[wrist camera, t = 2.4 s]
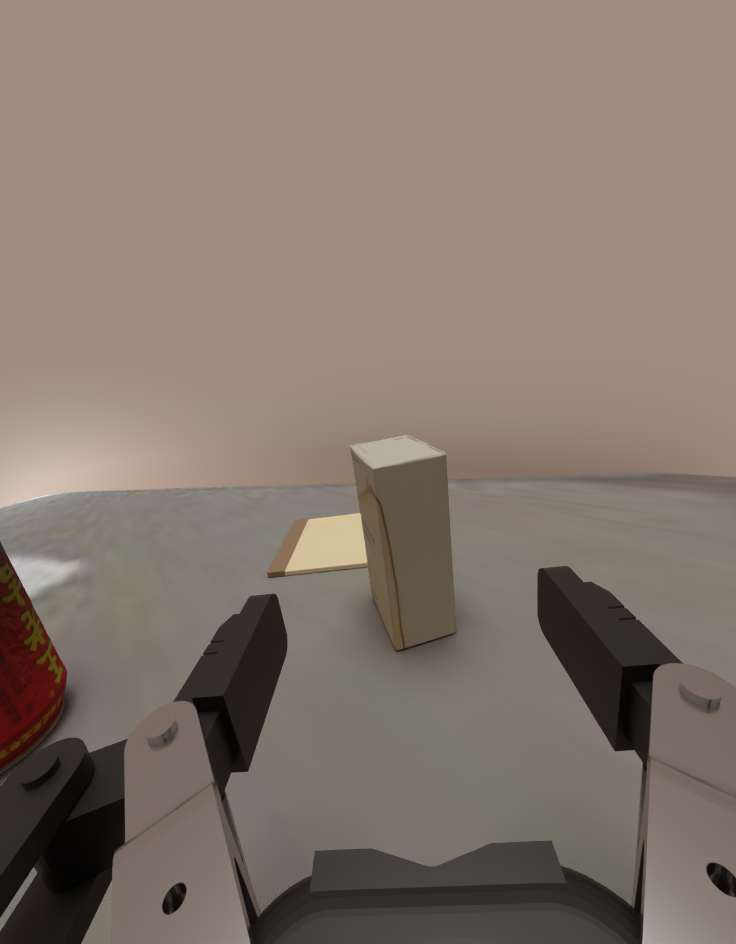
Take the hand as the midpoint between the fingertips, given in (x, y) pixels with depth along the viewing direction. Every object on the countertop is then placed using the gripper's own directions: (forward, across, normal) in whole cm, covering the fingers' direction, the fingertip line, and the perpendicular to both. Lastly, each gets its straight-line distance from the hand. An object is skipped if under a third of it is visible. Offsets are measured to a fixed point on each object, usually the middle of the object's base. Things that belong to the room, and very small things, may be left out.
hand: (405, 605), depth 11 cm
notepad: (+24, +5, +10) cm, 26 cm away
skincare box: (+12, 0, +10) cm, 15 cm away
